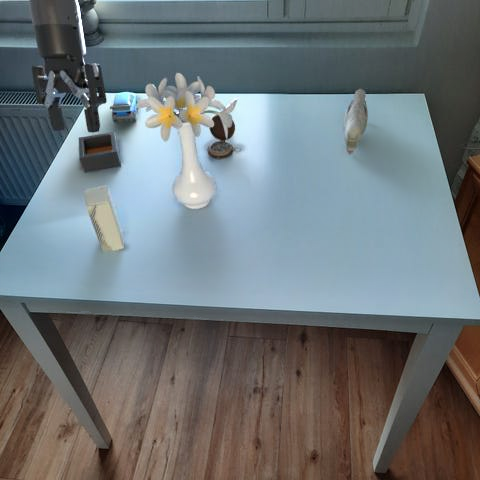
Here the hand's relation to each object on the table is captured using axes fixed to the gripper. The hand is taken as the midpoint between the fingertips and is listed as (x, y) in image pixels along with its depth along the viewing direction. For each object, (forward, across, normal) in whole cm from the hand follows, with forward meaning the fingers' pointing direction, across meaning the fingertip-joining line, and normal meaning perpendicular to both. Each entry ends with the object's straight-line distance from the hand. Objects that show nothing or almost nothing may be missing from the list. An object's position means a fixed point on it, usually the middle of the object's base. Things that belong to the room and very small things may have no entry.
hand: (76, 131), depth 84 cm
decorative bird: (+6, +34, +55) cm, 65 cm away
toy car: (+1, -22, +39) cm, 45 cm away
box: (+22, +3, +2) cm, 22 cm away
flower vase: (+16, +12, +21) cm, 28 cm away
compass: (+8, +9, +37) cm, 39 cm away
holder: (+9, -17, +22) cm, 29 cm away
